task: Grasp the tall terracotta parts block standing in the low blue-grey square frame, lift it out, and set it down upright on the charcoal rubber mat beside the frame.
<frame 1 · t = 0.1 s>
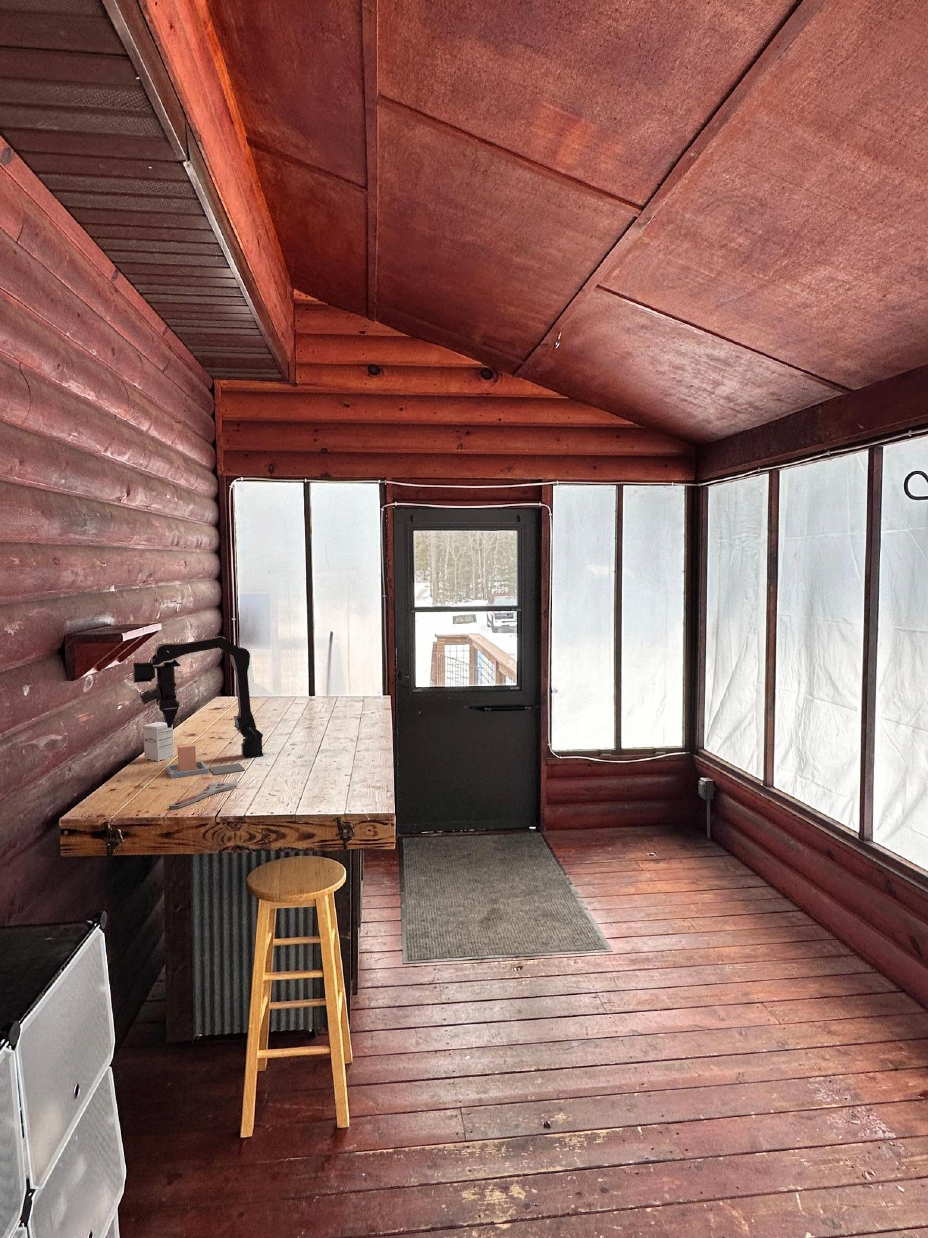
hand: (168, 725, 251), 15 cm above the table, fingers open, 9 cm apart
parts block: (186, 758, 246), in the blue-grey square frame
adjustable wrench: (204, 797, 219), on the table
supplement box: (159, 759, 265), on the table
place mat: (227, 769, 247), on the table
blue-grey square frame: (187, 771, 246), on the table
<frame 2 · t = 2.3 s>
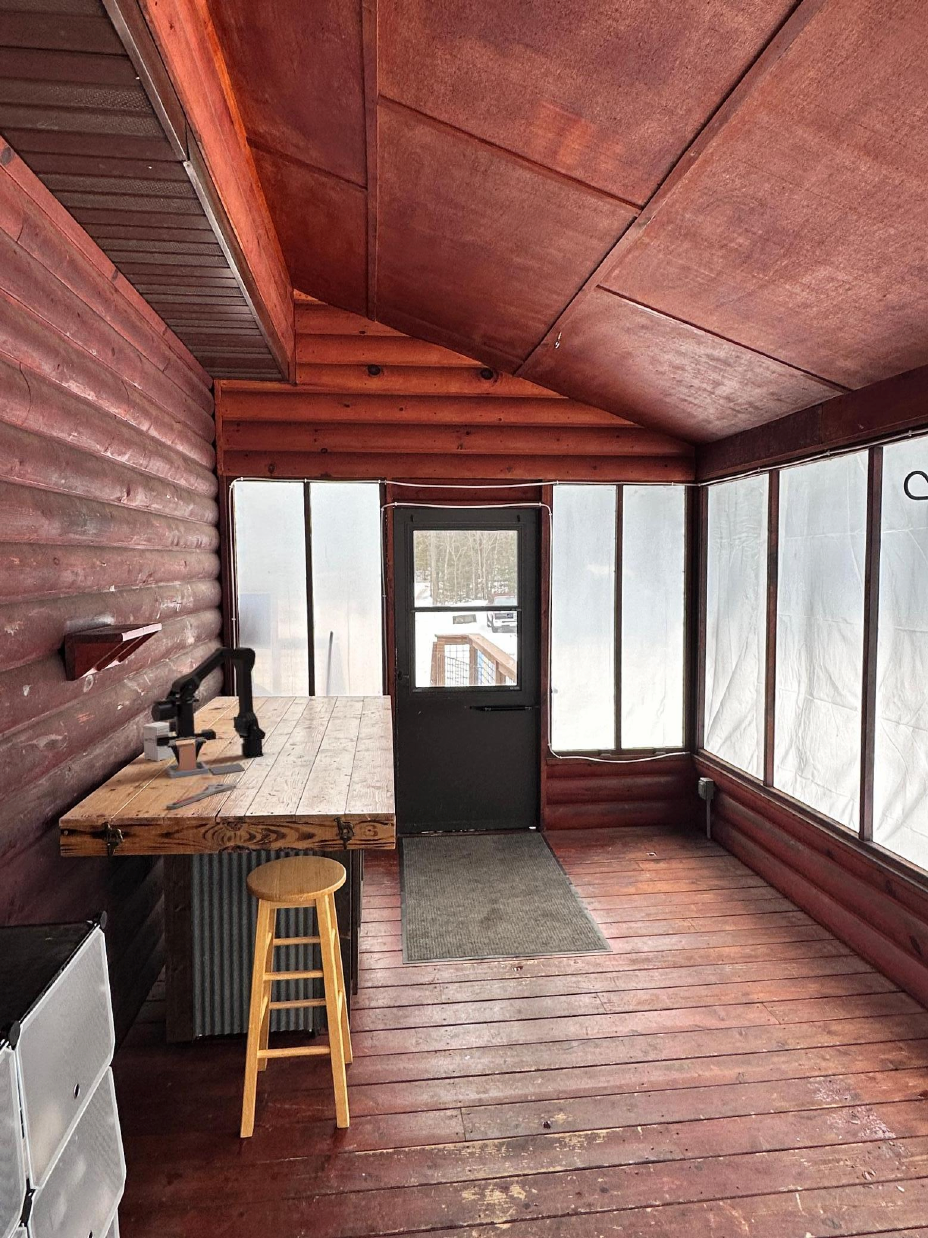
hand: (187, 762, 246), 3 cm above the table, fingers closed on parts block, 5 cm apart
parts block: (186, 758, 246), in the blue-grey square frame, touching gripper
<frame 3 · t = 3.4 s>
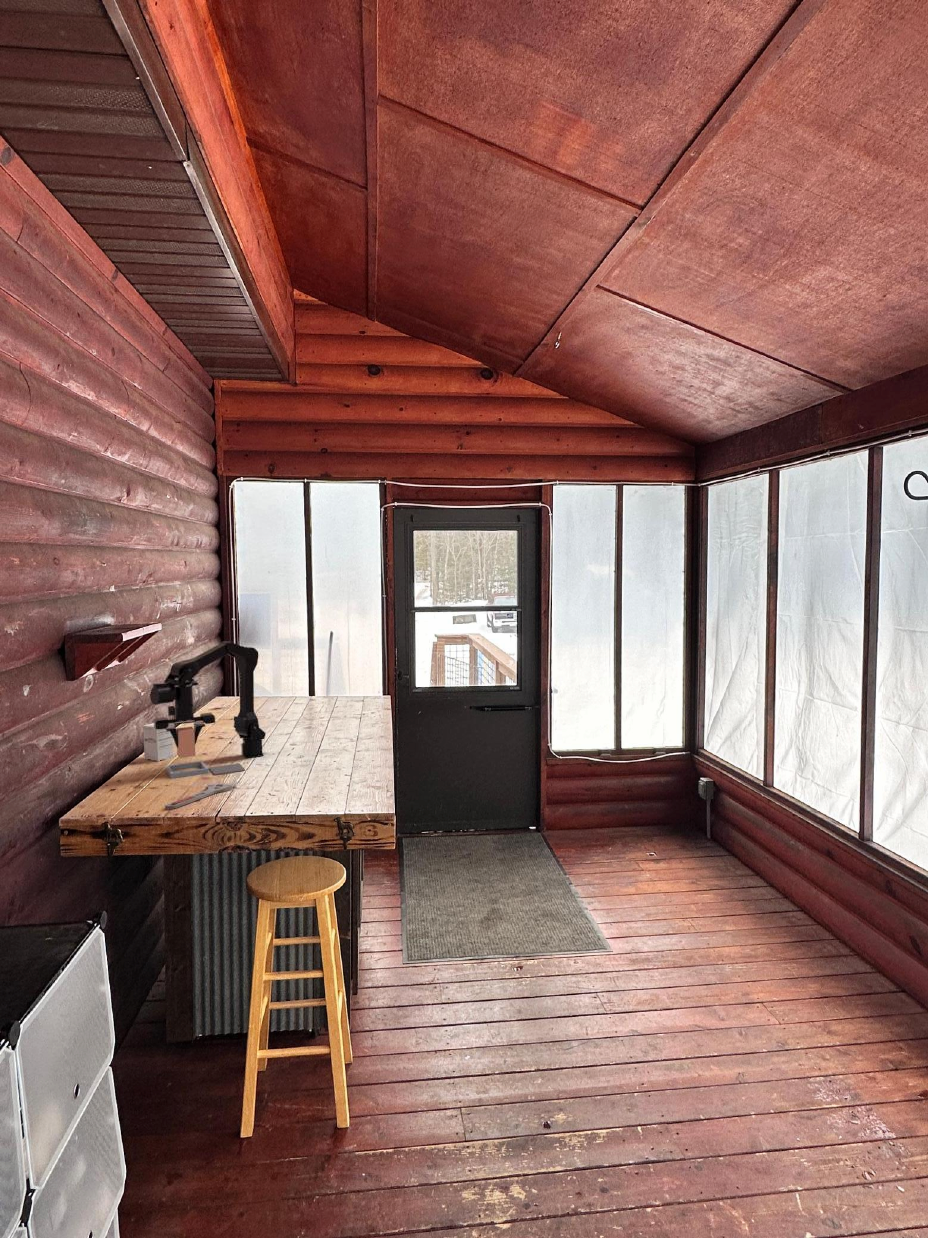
hand: (185, 746, 245), 9 cm above the table, fingers closed on parts block, 5 cm apart
parts block: (185, 742, 245), point 10 cm above the table, touching gripper
everything else where it was.
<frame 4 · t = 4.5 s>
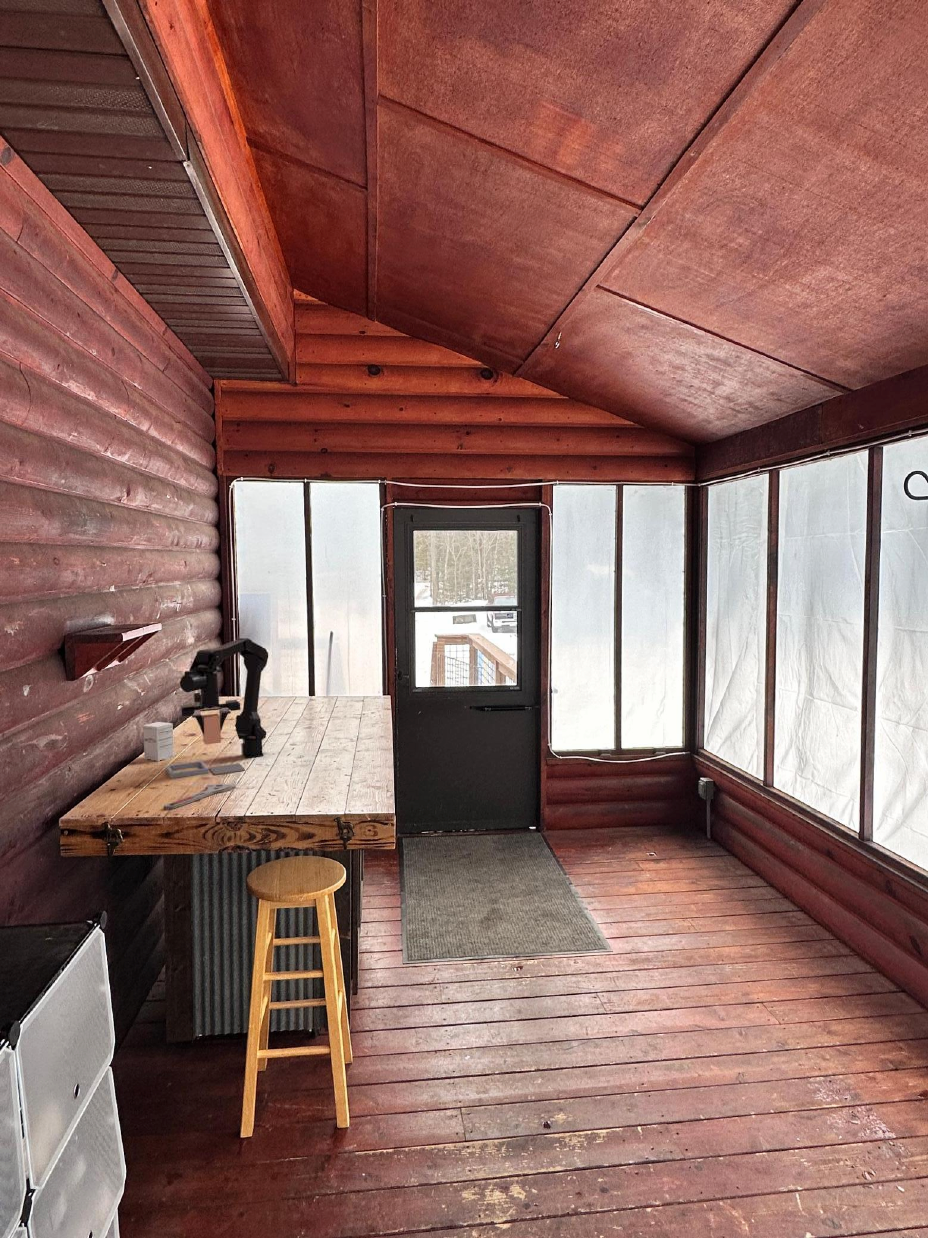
hand: (211, 733, 246), 13 cm above the table, fingers closed on parts block, 5 cm apart
parts block: (211, 728, 246), point 14 cm above the table, touching gripper
everything else where it was.
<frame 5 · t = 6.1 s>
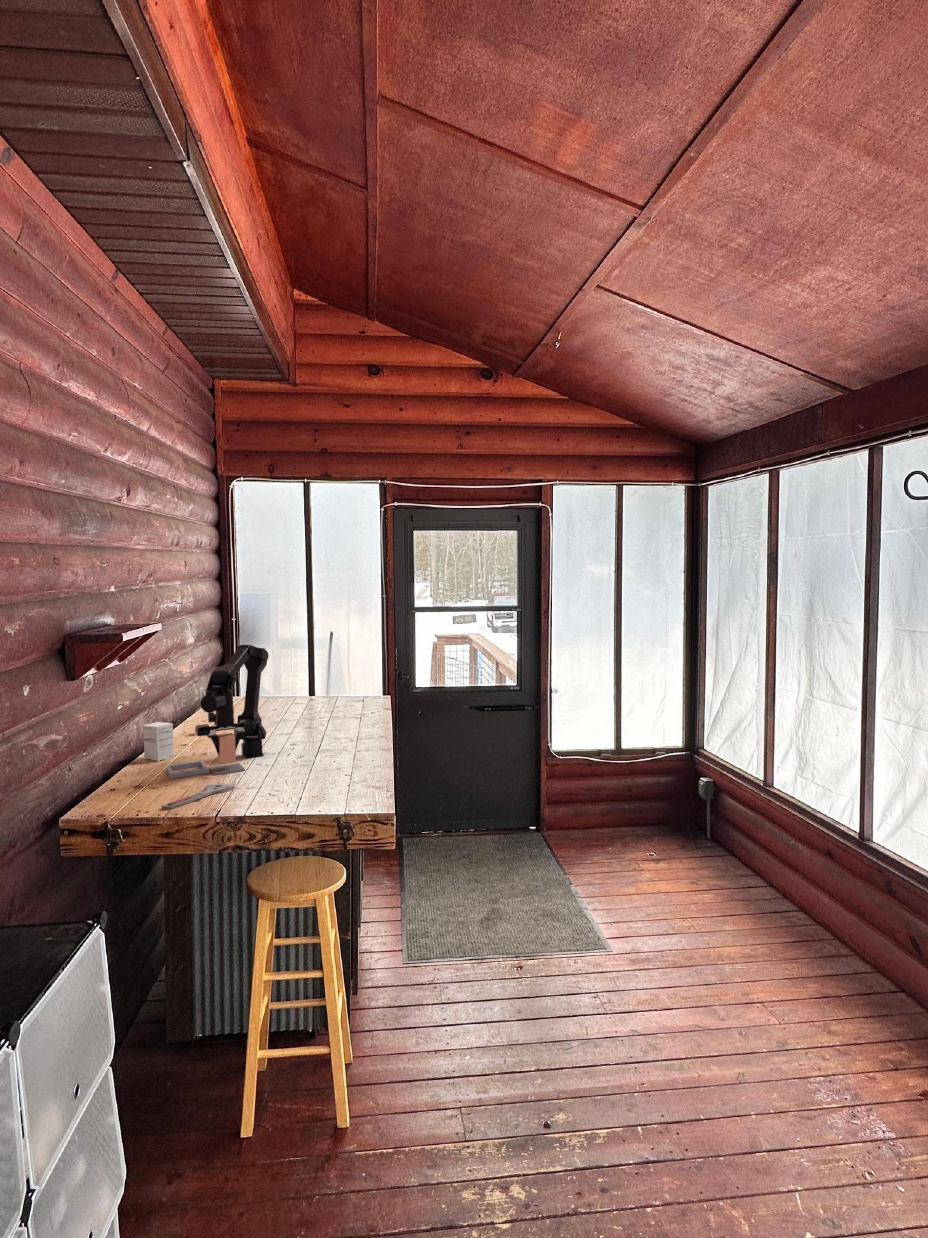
hand: (226, 752, 247), 6 cm above the table, fingers closed on parts block, 5 cm apart
parts block: (226, 748, 247), point 7 cm above the table, touching gripper
when the fingers open (5 cm above the table, at t = 7.1 s): parts block drops 1 cm, resting on place mat.
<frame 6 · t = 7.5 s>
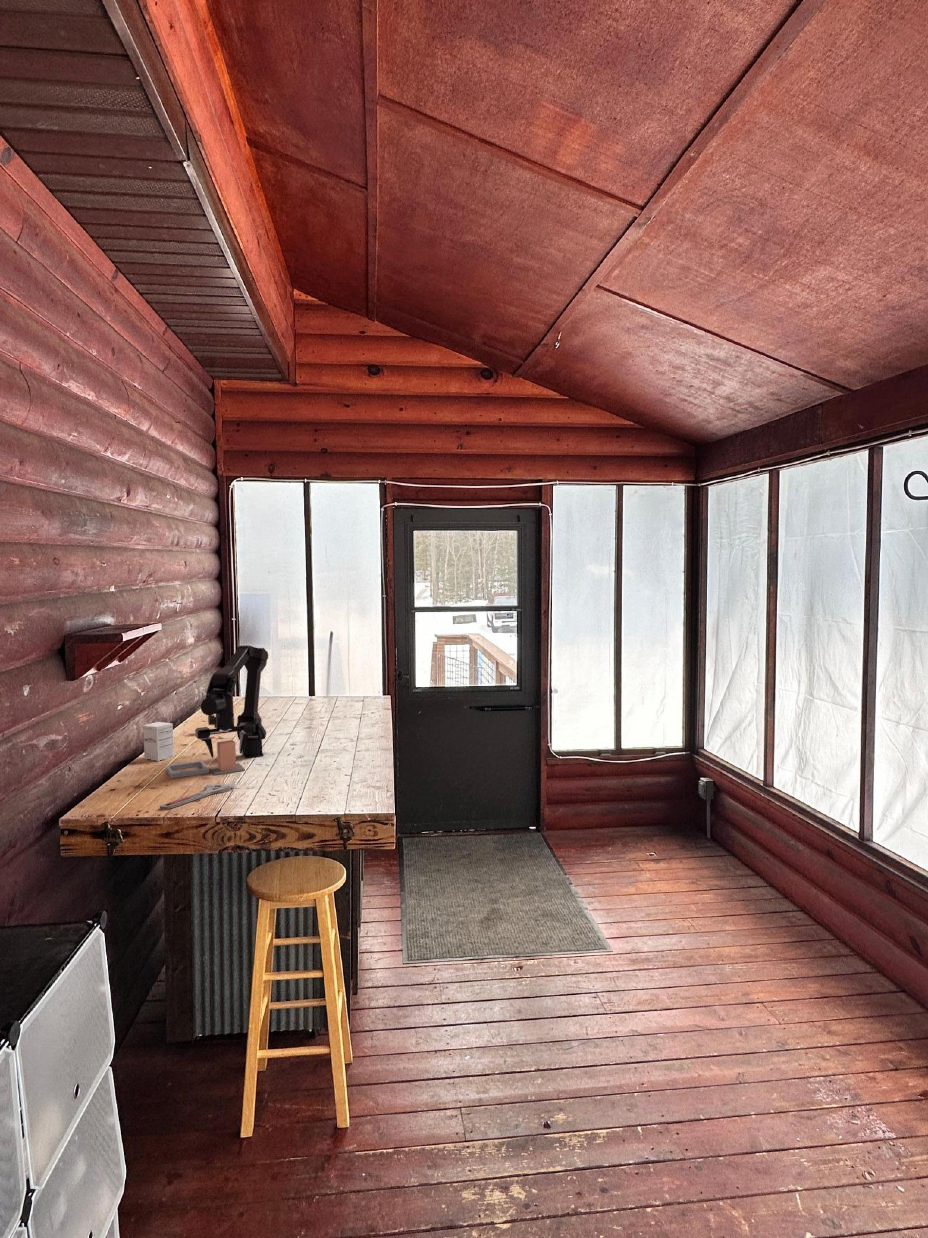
hand: (226, 755, 247), 5 cm above the table, fingers open, 9 cm apart
parts block: (226, 755, 247), on the place mat
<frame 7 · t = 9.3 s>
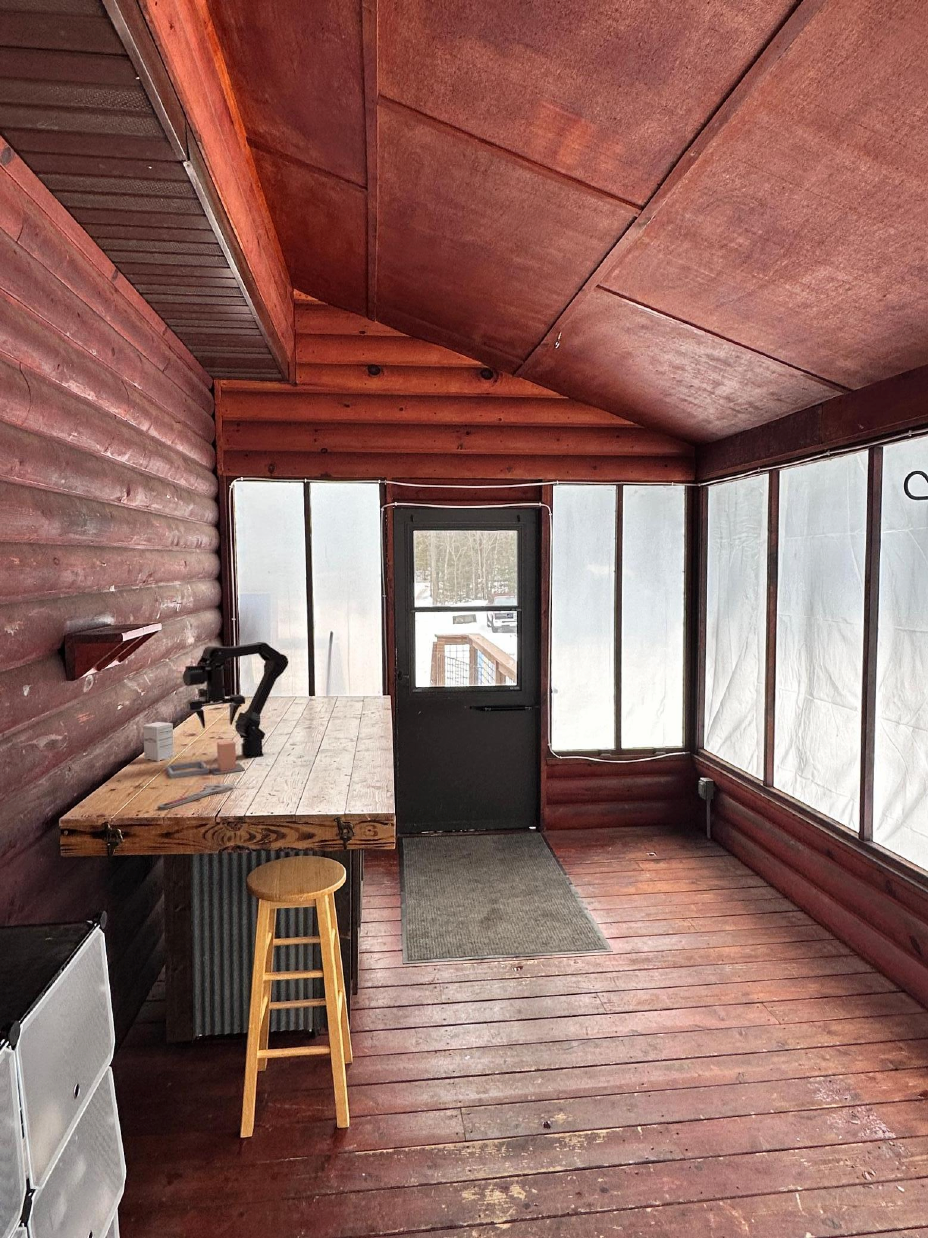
hand: (217, 726, 256), 13 cm above the table, fingers open, 9 cm apart
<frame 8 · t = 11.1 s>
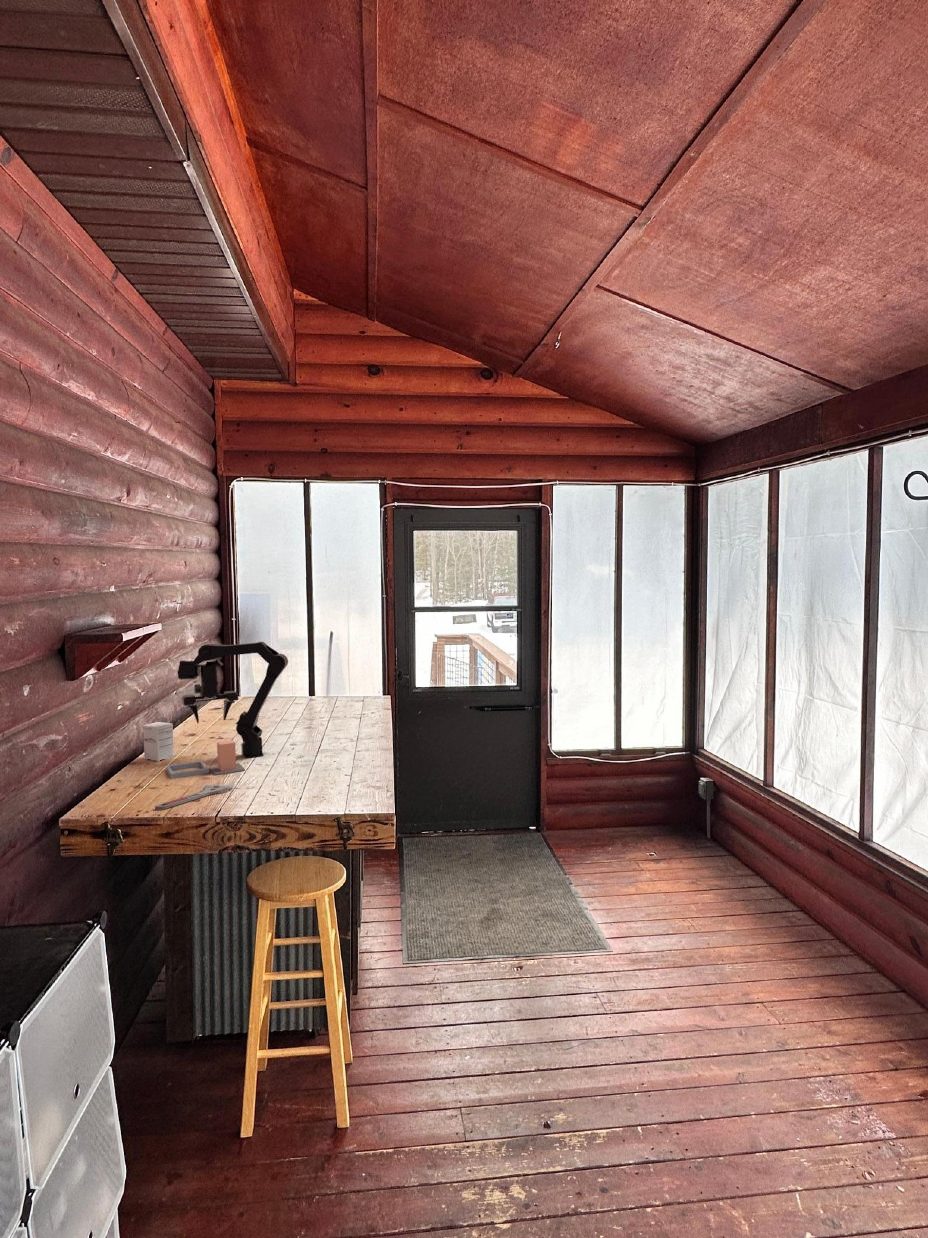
hand: (211, 721, 264), 13 cm above the table, fingers open, 9 cm apart
at the end: parts block 0.0 cm off-centre on the place mat, point 4.9 cm above the place mat's base; parts block tilted 0°; the gripper is holding nothing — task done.
